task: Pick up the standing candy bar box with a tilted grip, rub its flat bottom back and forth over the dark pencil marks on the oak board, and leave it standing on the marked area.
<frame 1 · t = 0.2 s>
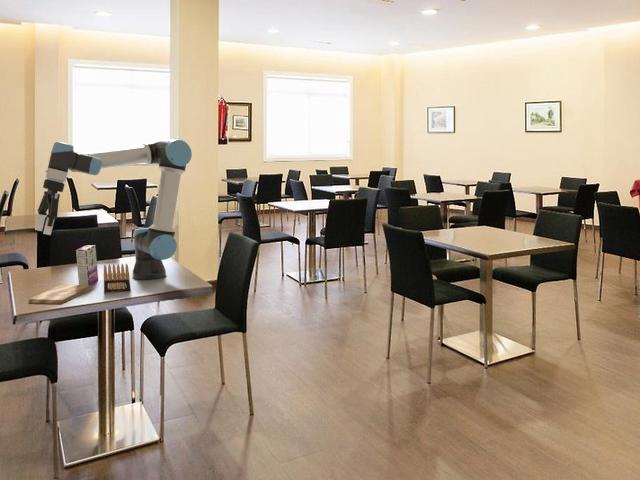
hand: (42, 232, 242), 27 cm above the table, tool tilted 15°, fingers open, 13 cm apart
candy bar box: (88, 283, 274), on the table
ammunition clip: (117, 291, 258), on the table
oak board: (61, 295, 252), on the table
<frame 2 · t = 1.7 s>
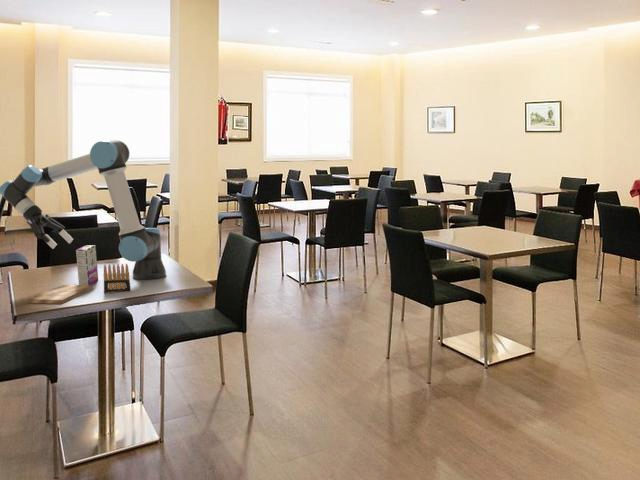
hand: (63, 244, 272), 18 cm above the table, tool tilted 45°, fingers open, 13 cm apart
nothing on the table moved.
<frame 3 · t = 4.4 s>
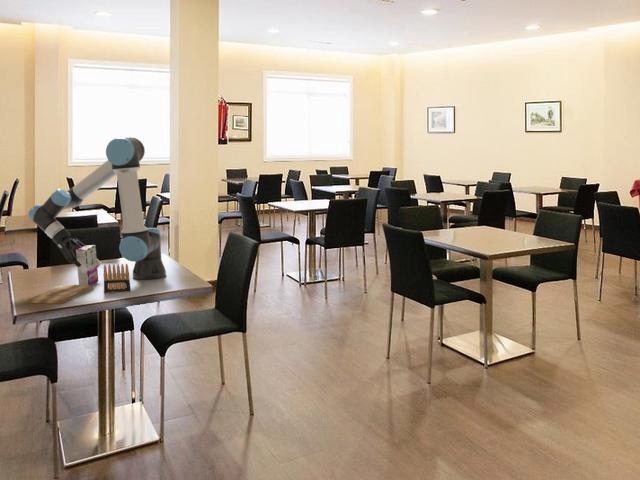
hand: (93, 268, 272), 7 cm above the table, tool tilted 45°, fingers closed on candy bar box, 11 cm apart
candy bar box: (88, 283, 274), on the table, touching gripper
everything else where it was.
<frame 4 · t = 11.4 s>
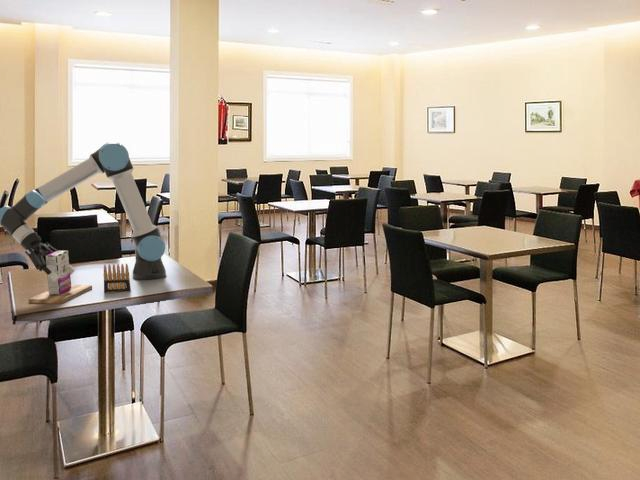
hand: (65, 275, 250), 8 cm above the table, tool tilted 45°, fingers closed on candy bar box, 11 cm apart
candy bar box: (60, 292, 252), point 1 cm above the table, touching gripper
everything else where it was.
when the fingers open (8 cm above the table, at t = 18.3 s): candy bar box stays where it is, resting on oak board.
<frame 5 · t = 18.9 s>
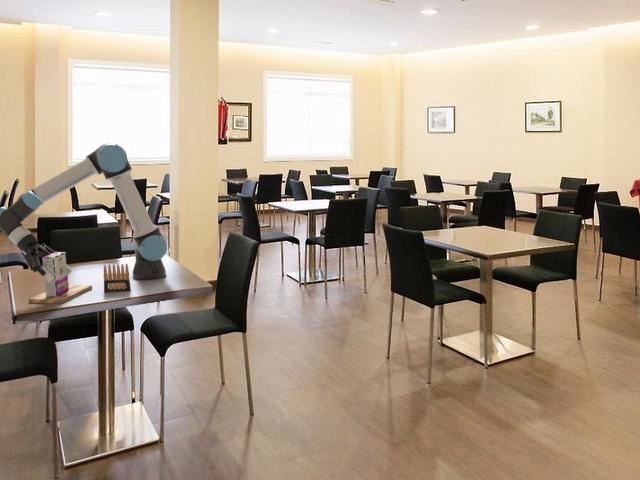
hand: (61, 276, 247), 9 cm above the table, tool tilted 45°, fingers open, 13 cm apart
candy bar box: (57, 294, 249), point 1 cm above the table, touching oak board
everything else where it was.
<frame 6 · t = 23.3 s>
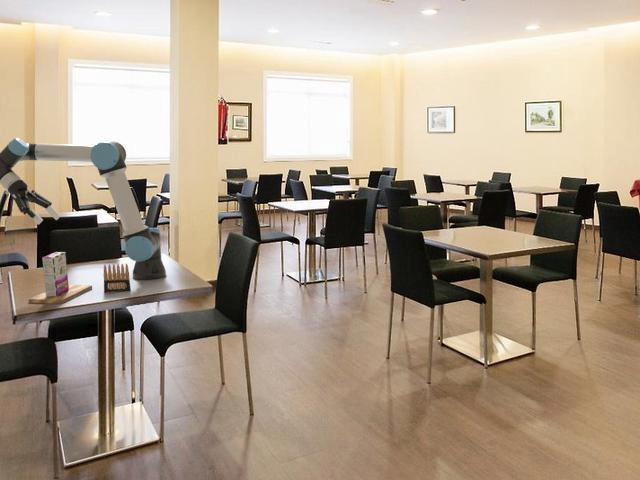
hand: (49, 220, 261), 30 cm above the table, tool tilted 45°, fingers open, 13 cm apart
nothing on the table moved.
at the end: candy bar box inside the target area on the oak board (0.9 cm from its centre), point 1.3 cm above the oak board's base; candy bar box tilted 0°; the gripper is holding nothing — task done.
